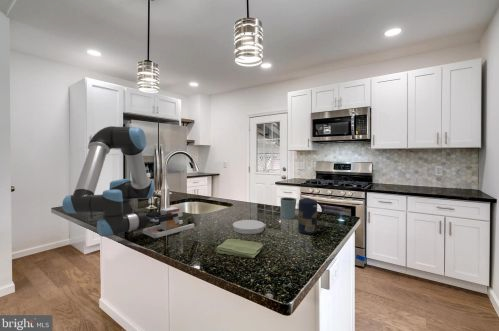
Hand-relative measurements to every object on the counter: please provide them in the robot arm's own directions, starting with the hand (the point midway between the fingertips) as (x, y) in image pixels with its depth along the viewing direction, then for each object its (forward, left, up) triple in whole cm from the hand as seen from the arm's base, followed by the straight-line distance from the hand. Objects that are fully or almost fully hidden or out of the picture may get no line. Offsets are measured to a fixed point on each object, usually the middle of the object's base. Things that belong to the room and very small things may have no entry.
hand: (178, 212), depth 132 cm
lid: (+30, +25, -9) cm, 40 cm away
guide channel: (0, -5, -8) cm, 10 cm away
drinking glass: (+33, +59, -9) cm, 68 cm away
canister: (+56, +40, -9) cm, 69 cm away
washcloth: (+46, -1, -9) cm, 47 cm away
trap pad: (0, -13, -8) cm, 16 cm away
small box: (0, -5, -8) cm, 9 cm away
